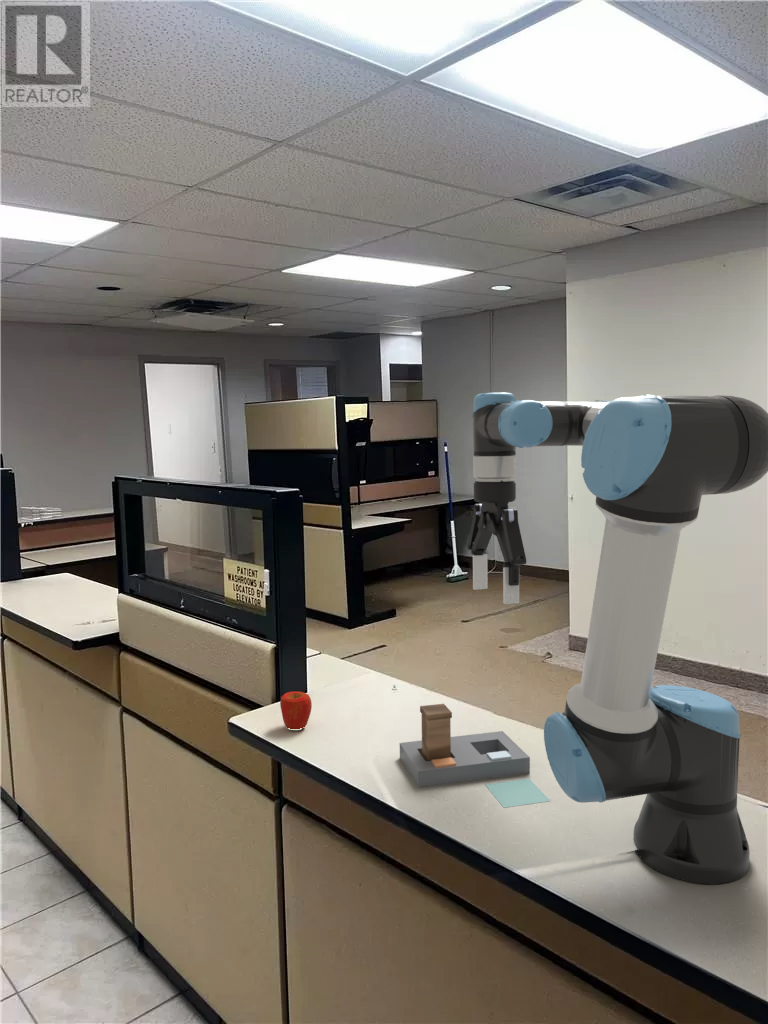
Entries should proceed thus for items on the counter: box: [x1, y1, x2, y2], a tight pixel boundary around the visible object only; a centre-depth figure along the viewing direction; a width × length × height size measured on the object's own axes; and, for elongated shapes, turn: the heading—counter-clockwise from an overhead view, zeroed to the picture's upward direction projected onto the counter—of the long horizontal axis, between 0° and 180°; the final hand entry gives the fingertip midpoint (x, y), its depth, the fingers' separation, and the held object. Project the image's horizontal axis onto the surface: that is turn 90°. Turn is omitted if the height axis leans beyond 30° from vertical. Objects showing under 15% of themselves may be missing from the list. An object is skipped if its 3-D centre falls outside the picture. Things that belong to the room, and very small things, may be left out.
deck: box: [484, 778, 551, 809], centre depth 121 cm, size 8×8×1 cm
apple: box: [279, 691, 313, 729], centre depth 153 cm, size 6×6×8 cm
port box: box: [399, 730, 531, 789], centre depth 132 cm, size 12×20×4 cm, turn 104°
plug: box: [419, 703, 453, 761], centre depth 130 cm, size 4×4×12 cm
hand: (495, 596), depth 136 cm, fingers open, 13 cm apart
